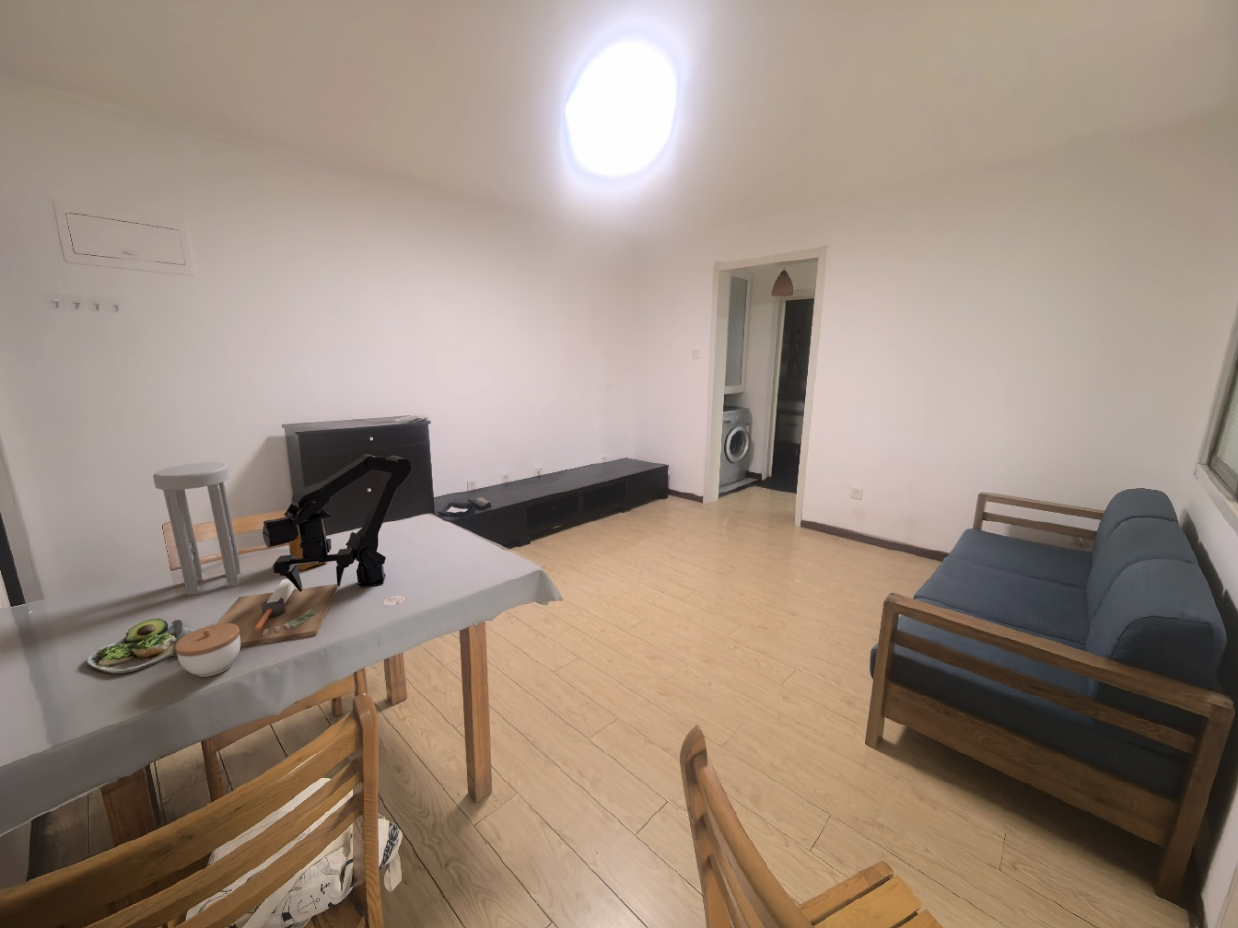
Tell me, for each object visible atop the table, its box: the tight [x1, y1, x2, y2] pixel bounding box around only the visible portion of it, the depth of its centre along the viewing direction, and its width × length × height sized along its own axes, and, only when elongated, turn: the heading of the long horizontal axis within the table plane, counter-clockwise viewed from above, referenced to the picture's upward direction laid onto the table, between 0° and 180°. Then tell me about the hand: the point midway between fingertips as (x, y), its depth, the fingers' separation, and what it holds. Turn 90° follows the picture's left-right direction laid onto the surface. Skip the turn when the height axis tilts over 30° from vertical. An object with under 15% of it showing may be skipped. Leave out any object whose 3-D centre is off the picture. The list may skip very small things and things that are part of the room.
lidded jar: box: [175, 623, 241, 678], centre depth 105 cm, size 11×11×9 cm
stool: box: [152, 462, 242, 596], centre depth 139 cm, size 16×16×35 cm
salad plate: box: [85, 618, 194, 674], centre depth 111 cm, size 19×18×5 cm
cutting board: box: [216, 583, 339, 648], centre depth 126 cm, size 24×25×2 cm
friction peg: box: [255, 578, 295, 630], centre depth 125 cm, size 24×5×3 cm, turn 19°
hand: (320, 588), depth 134 cm, fingers open, 9 cm apart
